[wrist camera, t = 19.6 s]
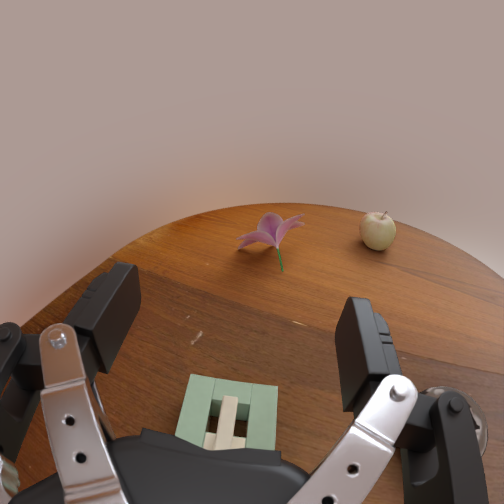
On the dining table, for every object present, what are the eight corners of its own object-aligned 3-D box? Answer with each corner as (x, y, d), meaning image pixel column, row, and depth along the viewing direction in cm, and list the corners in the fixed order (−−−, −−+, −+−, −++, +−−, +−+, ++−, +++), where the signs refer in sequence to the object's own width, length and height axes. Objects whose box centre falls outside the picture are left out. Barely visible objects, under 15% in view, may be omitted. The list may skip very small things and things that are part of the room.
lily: (309, 255, 56) (298, 203, 55) (323, 269, 44) (310, 203, 43) (244, 270, 57) (232, 217, 55) (241, 287, 45) (225, 221, 43)
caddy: (150, 573, 12) (141, 574, 11) (191, 392, 29) (190, 373, 27) (256, 589, 12) (263, 593, 10) (272, 404, 29) (278, 386, 27)
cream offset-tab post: (202, 503, 19) (194, 453, 12) (208, 468, 22) (207, 391, 15) (231, 507, 19) (247, 461, 12) (235, 472, 22) (254, 398, 15)
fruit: (393, 246, 61) (405, 212, 57) (384, 260, 56) (397, 222, 52) (361, 232, 65) (371, 198, 60) (349, 244, 59) (360, 207, 55)
